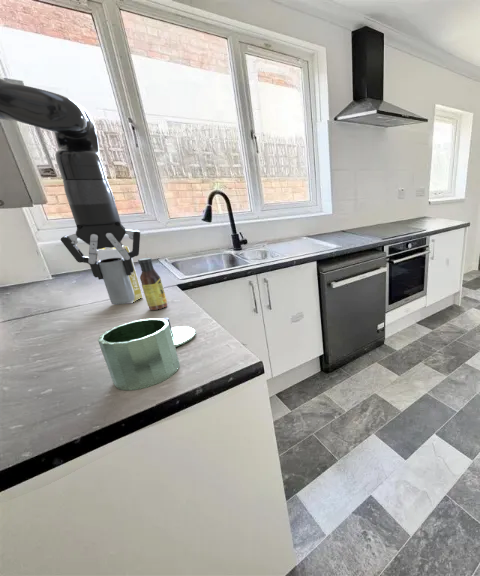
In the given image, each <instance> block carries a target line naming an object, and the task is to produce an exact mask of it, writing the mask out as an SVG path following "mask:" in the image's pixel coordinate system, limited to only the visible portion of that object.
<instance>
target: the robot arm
mask: <svg viewBox="0 0 480 576" xmlns="http://www.w3.org/2000/svg"><path fill="white" fill-rule="evenodd" d="M0 120H5V121H9V122H18V123H22V124H25V125H28V126H32V127H36V128H40V129H43V130H46V131H49V132H53V133H54V136H55V140H56V145H57V147H58V148H57V151H56V152H55V154H54V155H55V156H54V157H55V161H56V164H57V167H58V171H59V173H60V176H61V179H62V184H63V189H64V193H65V197H66V200H67V203H68V205H69V208H70V212H71V214H72V217H73V219H74V220H73V221H74V223H75V226H76V231H75V233H72V234H69V235H64V236H61V238H60V241H61V243H62V244H63V245H64V247H65V248H66V249H67V250H68V252H69V253H70V254H71V256H72V257H73V258H74V259H75V261H76V262H77V263H81V264H82V263H84V264H88V265H89V267H90V270H91V273H92V276H93V277H94V278H95V279H96V278H97V279H98V280H99V281H100V280H103V277H102V274H101V271H100V268H99V265H98V249H102V248H105V247H108V248H113V247H115V248H116V250H117V251H118V252H119V253H120V254H121V256H122V257H123V258H124V260H123V262H124V266H125V269H126V272H127V275H131V274H132V272H133V271H134V268H133V264H132V261H131V258H132V259H133V258H134V257H138V256H139V255H140V245H141V244H140V243H141V242H140V241H141V231H140V230H138V229H135V230H133V229H126V228H125V227H124V226H123V223H122V221H121V218H120V214H119V212H118V208H117V205H116V204H117V203H116V201H115V200H116V199H115V195H114V194H113V191H112V189H111V186H110V184H109V181H108V178H107V175H106V172H105V167H104V165H103V162H102V160H101V156H100V147H99V139H98V134H97V133H98V132H97V128H96V125H95V122H94V119H93V118H92V116H91V114H90V113H89V111H88V110H87V109H86V108H85V107H84V106H82V105H81V104H79V103H77V102H75V101H74V100H72V99H71V98H69V97H66V96H64V95H62V94H59V93H56V92H52V91H49V90H45V89H41V88H39V87H38V88H37V87H33V86H28V85H24V84H19V83H14V82H10V81H8V80H6V79H3V78H0ZM125 235H128V238H129V240H132V250H130V252H128V251H127V250H126V248H125V247H124V246H125V245H124V244H123V242H122V240H123V239H124V237H125ZM78 239H80V240H82V242H84V243H86V244H87V245H88V246H89V248H88V255H87V256H86V255H84V253H83V252H82V250H81V249H80V248H79V247H78V246H77V245H78V243H79V241H78Z"/></svg>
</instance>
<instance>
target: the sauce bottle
mask: <svg viewBox="0 0 480 576" xmlns="http://www.w3.org/2000/svg"><path fill="white" fill-rule="evenodd" d="M137 262H138V264H139V266H140V270H141V273H140V276H139V279H140V280H139V281H140V282H141V289H142V290H143V291H142V292H143V294H144V297H145V300H146V304H147V307H148V308H149V309H148V310H150V311H158V309H159V310H163V309H165V308H167V307H166V306H168V299H167V296H166V292H165V289H164V285H163V282H162V278H161V276H160V275H159V274H158V272H157V271H156V269H155V268H154V265H153V260H152V258H151V257H143V258H139V259H137ZM164 307H165V308H164ZM162 308H163V309H162Z"/></svg>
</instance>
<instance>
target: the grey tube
mask: <svg viewBox="0 0 480 576" xmlns="http://www.w3.org/2000/svg"><path fill="white" fill-rule="evenodd" d="M97 262H98V265H99V268H100V271H101V274H102V277H103V279H102V280H103V283H104V286H105V289H106V291H107V294H108V297H109V300H110V303H111V304H112V305H123V304H129V303H128V302H131V301H133V300H135V297H134V293H133V290H132V287H131V283H130V280H129V277H128V275H127V272H126V269H125V266H124V262H123V258H110V259H104V260H100V261H99V260H97Z"/></svg>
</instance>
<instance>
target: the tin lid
mask: <svg viewBox="0 0 480 576" xmlns="http://www.w3.org/2000/svg"><path fill="white" fill-rule="evenodd" d="M161 319H164V320H167V321H168V323H169V326H170V330H171V334H172V337H173V341H174V345H175V348H177V347H179V346H181V345H184V344H186V343H188V342H189V341H191V340H192V339H193V338H194V337H195V336H196V329H194V328H193V327H190V326H174V327H172V325H171V321H170V318H169V317H162V318H161Z"/></svg>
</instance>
